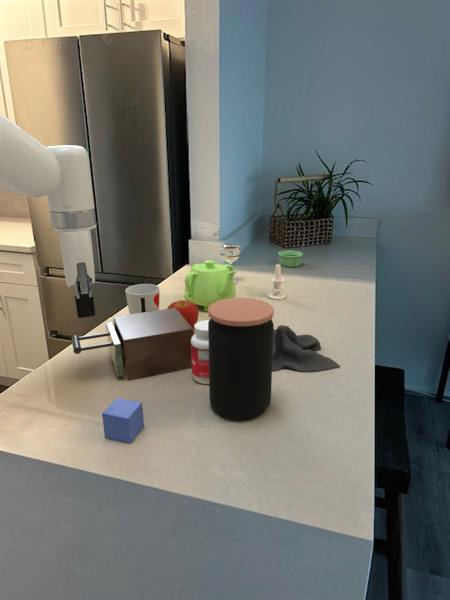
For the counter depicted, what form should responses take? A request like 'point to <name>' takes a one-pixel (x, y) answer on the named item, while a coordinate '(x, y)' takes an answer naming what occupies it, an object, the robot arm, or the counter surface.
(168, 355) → the cabinet
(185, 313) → the apple
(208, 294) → the teapot
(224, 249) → the wineglass
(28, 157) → the robot arm
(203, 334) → the pill bottle
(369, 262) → the counter surface
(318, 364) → the cloth
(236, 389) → the coffee jar
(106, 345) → the brown drawer with handle
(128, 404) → the matte blue cube
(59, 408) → the counter surface
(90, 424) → the counter surface
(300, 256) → the ramekin
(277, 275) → the cream tower figurine
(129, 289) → the cup
